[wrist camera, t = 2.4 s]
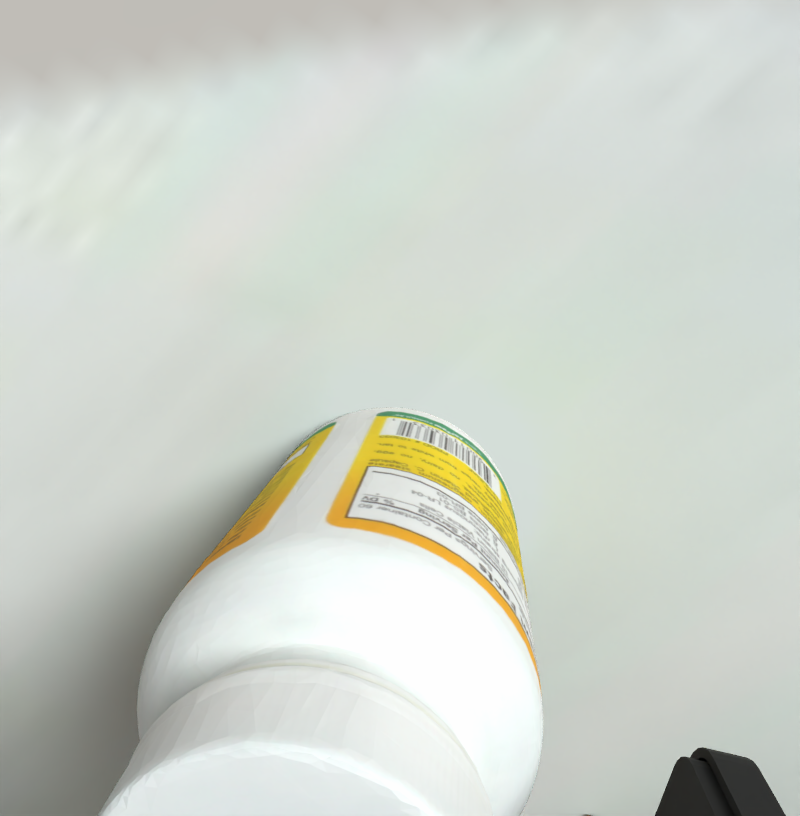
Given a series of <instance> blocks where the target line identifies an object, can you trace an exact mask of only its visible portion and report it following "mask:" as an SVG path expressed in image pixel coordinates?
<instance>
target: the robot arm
mask: <svg viewBox="0 0 800 816" xmlns="http://www.w3.org/2000/svg"><path fill="white" fill-rule="evenodd" d="M655 816H786V815H785V814H784V812H783V810H782V808H781V807H780V805H779V803H778V801H777V800H776V798H775V796H774V794H773V793H772V791H771V789H770V787H769V786H768V784H767V782H766V780H765V779H764V777H763V775H762V773H761V772H760V770H759V768H758V767H757V765H756V764H755V763H754V762H753V761H752V760H750V759H748V758H746V757H741V756H737V755H733V754H729V753H724V752H720V751H716V750H711V749H707V748H698V749H697V750H695V751H694V752H693V753H692V755H691V757H690V758H688V757H681V758H680V759H679V760H677V762H676V764H675V766H674V768H673V771H672V774H671V776H670V779H669V781H668V784H667V786H666V789H665V791H664V794H663V797H662V799H661V802H660V804H659V807H658V809H657V812H656V814H655Z"/></svg>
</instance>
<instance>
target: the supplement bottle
mask: <svg viewBox="0 0 800 816" xmlns="http://www.w3.org/2000/svg"><path fill="white" fill-rule="evenodd" d="M137 720H138V733H139V741H140V742H139V744H138V746H137V747H136V749H135V751H134V753H133V755H132V757H131V760H130V762H129V764H128V766H127V768H126V769H125V771H124V773H123V774H122V776H121V778H120V779H119V781H118V783H117V784H116V786H115V787H114V789H113V791H112V792H111V794H110V796H109V797H108V799H107V800H106V802H105V804H104V805H103V807H102V809H101V810H100V812H99V814H98V816H520V814H521V812H522V810H523V809H524V807H525V805H526V803H527V801H528V798H529V796H530V793H531V791H532V788H533V785H534V782H535V779H536V776H537V772H538V767H539V762H540V756H541V749H542V742H543V709H542V695H541V686H540V679H539V672H538V667H537V661H536V655H535V649H534V643H533V636H532V629H531V622H530V616H529V608H528V601H527V593H526V586H525V580H524V575H523V568H522V562H521V554H520V548H519V542H518V535H517V526H516V521H515V516H514V510H513V504H512V500H511V496H510V493H509V491H508V488H507V485H506V483H505V481H504V479H503V477H502V475H501V473H500V471H499V469H498V468H497V466H496V465H495V463H494V462H493V461H492V459H491V458H490V456H489V455H488V454H487V453H486V452H485V450H484V449H483V448H482V447H481V446H480V445H479V444H478V443H477V442H476V441H475V440H473V439H472V438H471V437H470V436H469V435H467V434H466V433H465V432H463V431H462V430H460V429H459V428H457V427H456V426H454V425H452V424H451V423H449V422H447V421H445V420H443V419H441V418H439V417H436V416H434V415H431V414H428V413H425V412H421V411H417V410H413V409H406V408H394V407H386V408H371V409H364V410H360V411H356V412H352V413H348V414H346V415H344V416H341V417H339V418H337V419H334V420H332V421H330V422H328V423H326V424H325V425H323V426H322V427H320V428H319V429H317V430H316V431H314V432H313V433H312V434H311V435H310V436H308V437H307V438H306V439H305V440H304V441H303V442H302V443H301V444H300V445H299V446H298V447H297V448H296V450H295V451H294V452H293V453H292V454H291V455H290V456H289V458H288V459H287V460H286V461H285V463H284V464H283V465H282V467H281V468H280V469H279V470H278V472H277V473H276V474H275V475H274V477H273V478H272V479H271V480H270V482H269V483H268V484H267V485H266V487H265V488H264V489H263V490H262V492H261V493H260V494H259V495H258V497H257V498H256V499H255V500H254V502H253V503H252V504H251V505H250V506H249V508H248V509H247V510H246V511H245V513H244V514H243V515H242V516H241V518H240V519H239V520H238V521H237V523H236V524H235V525H234V526H233V528H232V529H231V530H230V531H229V532H228V533H227V534H226V536H225V537H224V538H223V539H222V541H221V542H220V543H219V544H218V545H217V547H216V548H215V549H214V550H213V552H212V553H211V554H210V555H209V557H207V558H206V559H205V561H204V562H203V563H202V565H201V566H200V567H199V568H198V569H197V571H196V572H195V573H194V575H193V576H192V578H191V579H190V580H189V582H188V583H187V584H186V586H185V587H184V588H183V589H182V591H181V592H180V593H179V595H178V596H177V597H176V599H175V600H174V602H173V603H172V605H171V606H170V608H169V609H168V611H167V612H166V614H165V615H164V617H163V619H162V620H161V622H160V624H159V626H158V628H157V630H156V631H155V634H154V636H153V638H152V641H151V643H150V646H149V648H148V651H147V654H146V657H145V660H144V664H143V668H142V671H141V675H140V681H139V688H138V696H137Z"/></svg>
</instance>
